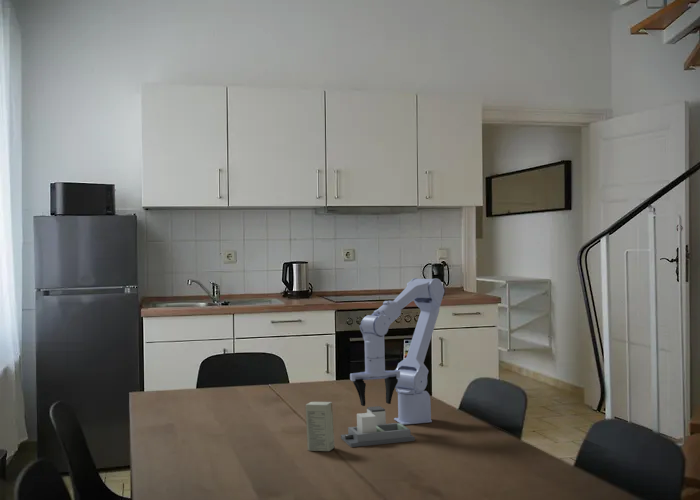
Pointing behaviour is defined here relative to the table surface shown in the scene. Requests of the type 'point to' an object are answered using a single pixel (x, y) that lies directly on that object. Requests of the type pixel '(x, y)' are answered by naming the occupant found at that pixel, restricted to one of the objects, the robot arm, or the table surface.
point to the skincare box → (320, 426)
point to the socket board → (375, 432)
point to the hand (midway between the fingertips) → (375, 404)
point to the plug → (378, 414)
